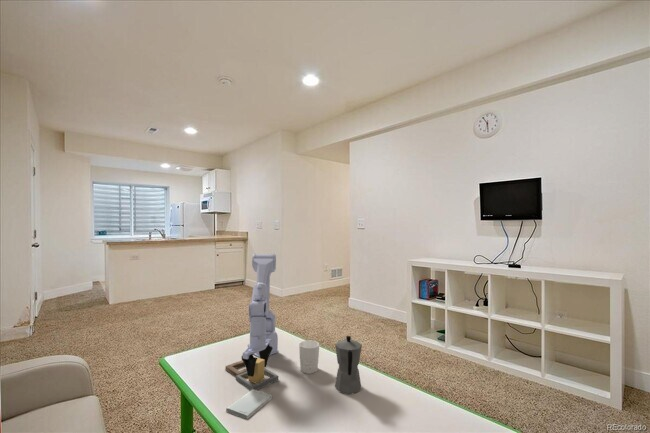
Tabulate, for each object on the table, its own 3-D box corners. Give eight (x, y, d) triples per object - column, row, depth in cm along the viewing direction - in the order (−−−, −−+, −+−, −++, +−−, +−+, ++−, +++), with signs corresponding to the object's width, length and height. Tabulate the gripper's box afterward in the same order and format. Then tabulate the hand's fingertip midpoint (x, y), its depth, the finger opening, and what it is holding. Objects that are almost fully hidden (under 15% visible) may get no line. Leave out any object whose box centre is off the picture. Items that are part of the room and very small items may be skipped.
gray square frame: (261, 369, 122) (261, 365, 122) (278, 379, 114) (278, 375, 114) (235, 379, 114) (235, 375, 114) (252, 391, 106) (252, 387, 106)
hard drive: (247, 415, 92) (272, 394, 103) (226, 407, 95) (252, 388, 106) (247, 421, 92) (272, 399, 103) (225, 413, 95) (252, 393, 106)
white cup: (295, 372, 120) (295, 346, 121) (304, 363, 128) (304, 339, 128) (314, 376, 118) (314, 349, 118) (322, 367, 125) (322, 342, 125)
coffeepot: (334, 377, 116) (334, 329, 117) (359, 378, 116) (360, 329, 117) (335, 401, 101) (336, 345, 101) (364, 402, 101) (364, 346, 101)
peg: (255, 376, 117) (255, 357, 117) (264, 378, 115) (264, 359, 115) (248, 381, 113) (249, 361, 113) (257, 383, 112) (258, 363, 112)
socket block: (245, 362, 128) (245, 359, 128) (258, 370, 122) (258, 366, 122) (225, 370, 121) (225, 366, 121) (237, 378, 115) (237, 374, 115)
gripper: (260, 326, 123) (260, 360, 122) (235, 338, 109) (235, 377, 109) (275, 328, 120) (275, 364, 120) (252, 342, 107) (251, 382, 106)
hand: (257, 371), depth 114 cm, fingers open, 7 cm apart
